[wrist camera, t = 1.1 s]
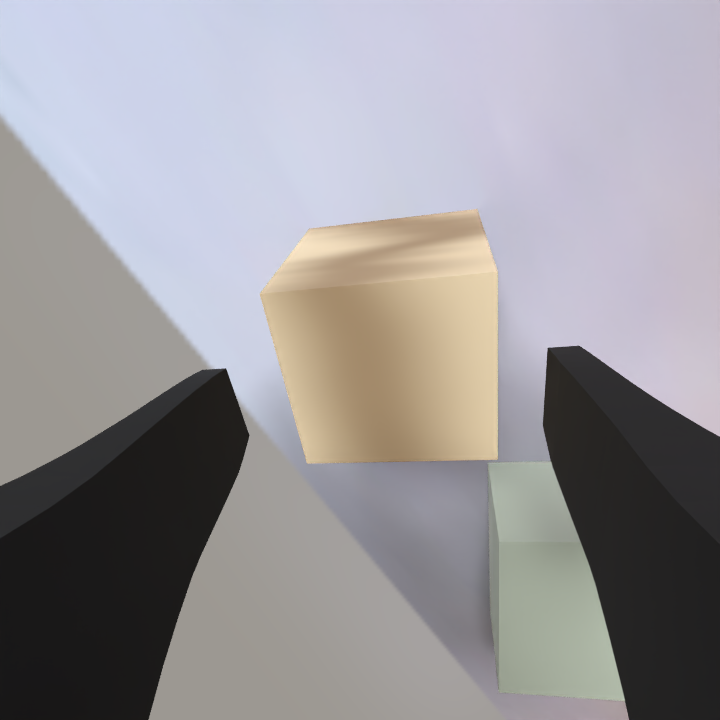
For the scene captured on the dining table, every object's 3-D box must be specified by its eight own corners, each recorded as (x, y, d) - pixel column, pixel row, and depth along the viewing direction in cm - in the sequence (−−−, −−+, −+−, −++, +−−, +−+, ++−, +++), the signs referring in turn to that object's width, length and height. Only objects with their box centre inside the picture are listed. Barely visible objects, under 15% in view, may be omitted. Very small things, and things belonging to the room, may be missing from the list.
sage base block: (774, 449, 17) (861, 545, 13) (710, 611, 22) (761, 710, 18) (486, 456, 19) (499, 541, 15) (488, 603, 24) (498, 692, 20)
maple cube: (476, 208, 13) (497, 271, 9) (480, 356, 16) (497, 459, 12) (309, 227, 14) (259, 293, 10) (337, 365, 17) (306, 463, 13)
